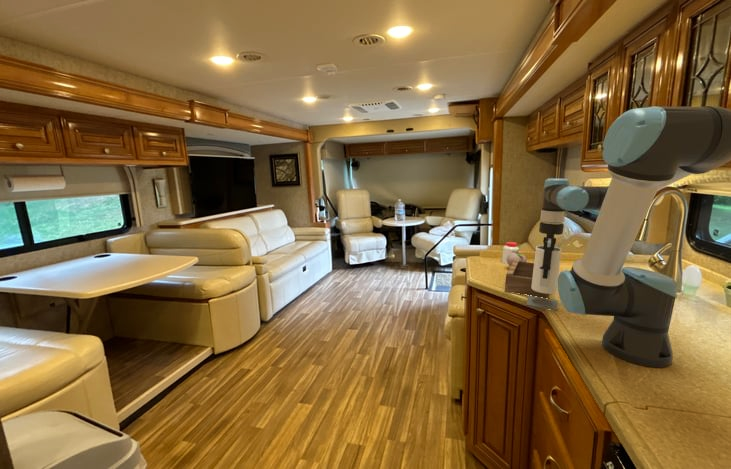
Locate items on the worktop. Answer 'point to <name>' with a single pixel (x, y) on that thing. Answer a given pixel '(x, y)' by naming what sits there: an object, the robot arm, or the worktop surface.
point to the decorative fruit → (515, 257)
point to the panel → (542, 303)
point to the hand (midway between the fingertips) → (544, 282)
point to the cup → (553, 271)
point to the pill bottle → (508, 250)
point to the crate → (521, 279)
